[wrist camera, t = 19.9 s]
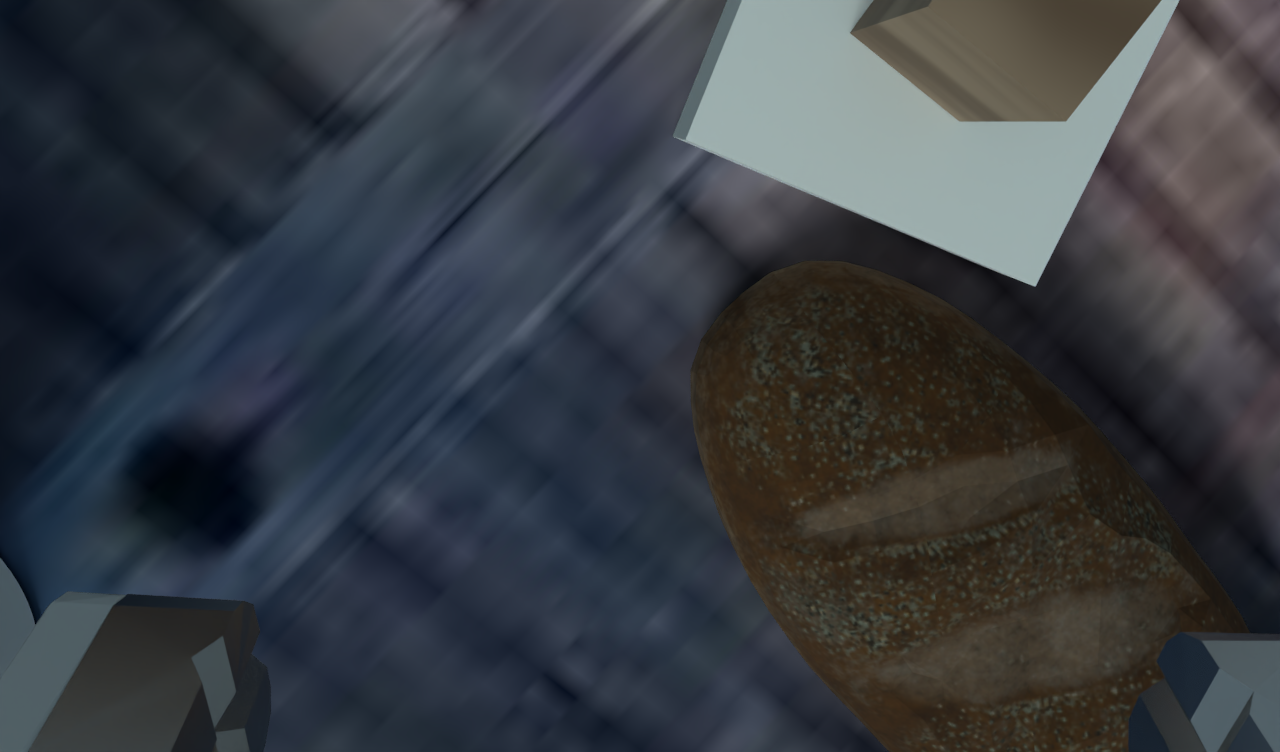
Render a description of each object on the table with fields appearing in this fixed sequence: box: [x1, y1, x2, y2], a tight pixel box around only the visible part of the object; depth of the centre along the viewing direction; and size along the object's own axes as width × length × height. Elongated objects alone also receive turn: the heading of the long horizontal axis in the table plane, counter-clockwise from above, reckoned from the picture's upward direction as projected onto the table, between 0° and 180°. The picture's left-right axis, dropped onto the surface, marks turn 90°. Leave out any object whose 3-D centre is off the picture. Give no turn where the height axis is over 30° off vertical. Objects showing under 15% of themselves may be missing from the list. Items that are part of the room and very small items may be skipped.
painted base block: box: [673, 0, 1179, 287], centre depth 37 cm, size 14×14×6 cm
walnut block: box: [850, 0, 1161, 122], centre depth 30 cm, size 5×5×8 cm
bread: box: [691, 261, 1250, 752], centre depth 42 cm, size 16×36×8 cm, turn 41°
